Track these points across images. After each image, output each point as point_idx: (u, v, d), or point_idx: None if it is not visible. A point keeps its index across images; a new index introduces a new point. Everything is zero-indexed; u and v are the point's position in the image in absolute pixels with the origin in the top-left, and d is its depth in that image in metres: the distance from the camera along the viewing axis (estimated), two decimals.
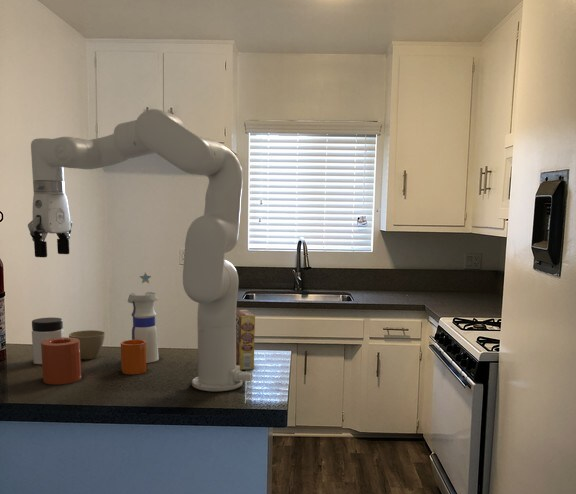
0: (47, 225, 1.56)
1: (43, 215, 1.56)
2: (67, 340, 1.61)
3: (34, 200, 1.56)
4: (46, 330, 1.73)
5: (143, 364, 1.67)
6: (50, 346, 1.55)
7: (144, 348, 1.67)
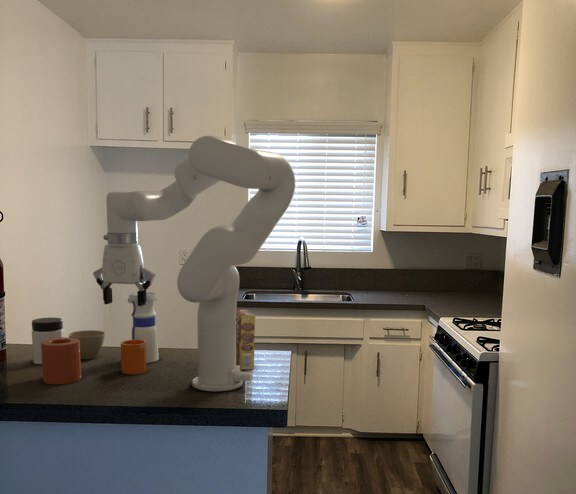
0: (102, 274, 1.64)
1: None
2: (67, 340, 1.61)
3: None
4: (46, 330, 1.73)
5: (143, 364, 1.67)
6: (50, 346, 1.55)
7: (144, 348, 1.67)
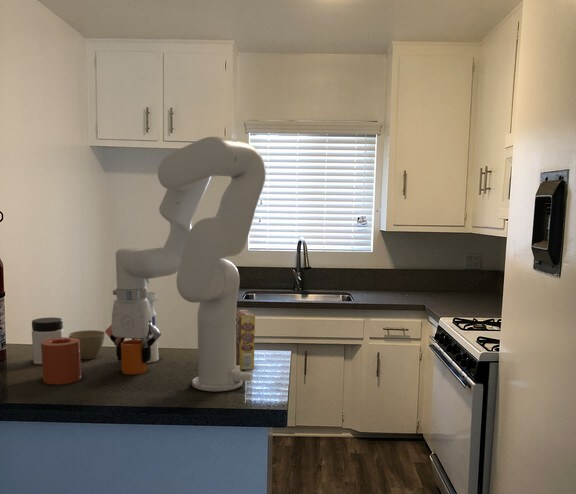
0: (111, 329, 1.66)
1: None
2: (67, 340, 1.61)
3: None
4: (46, 330, 1.73)
5: (143, 364, 1.67)
6: (50, 346, 1.55)
7: None
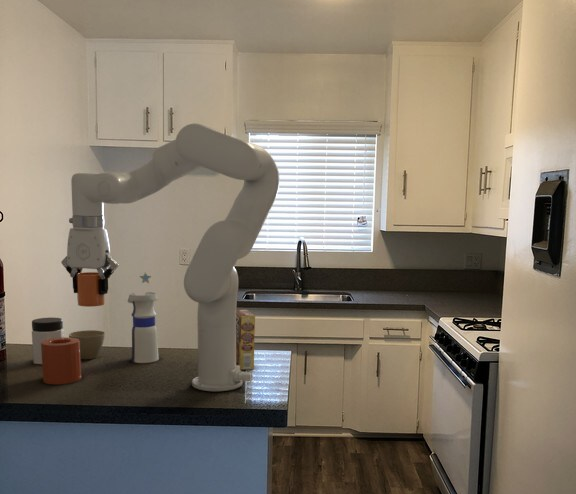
0: (67, 259, 1.59)
1: None
2: (67, 340, 1.61)
3: None
4: (46, 330, 1.73)
5: (100, 296, 1.60)
6: (50, 346, 1.55)
7: None
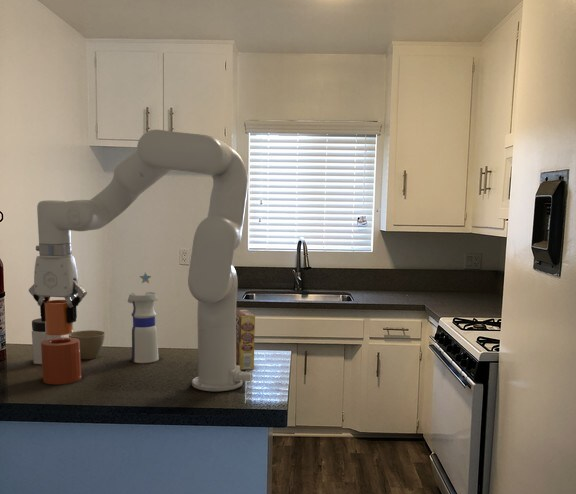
0: (34, 287, 1.56)
1: None
2: (67, 340, 1.61)
3: None
4: None
5: (68, 325, 1.57)
6: (50, 346, 1.55)
7: None
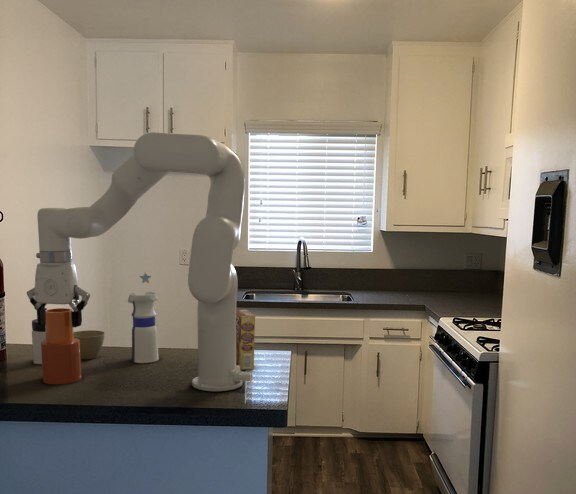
0: (35, 294, 1.56)
1: None
2: None
3: None
4: None
5: (69, 333, 1.57)
6: (50, 346, 1.55)
7: (70, 316, 1.57)
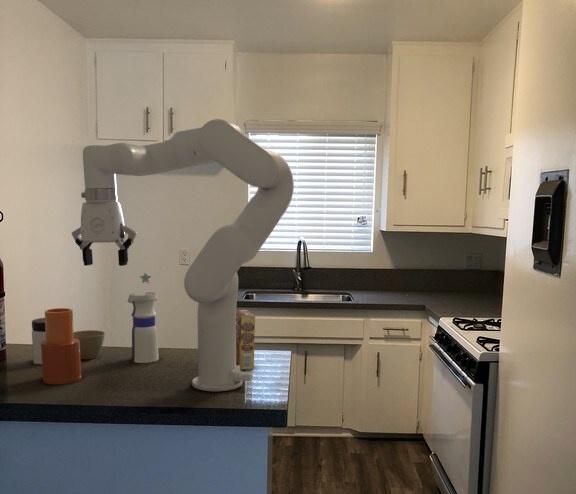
0: (81, 234, 1.56)
1: None
2: None
3: None
4: None
5: (69, 333, 1.57)
6: (50, 346, 1.55)
7: (70, 316, 1.57)
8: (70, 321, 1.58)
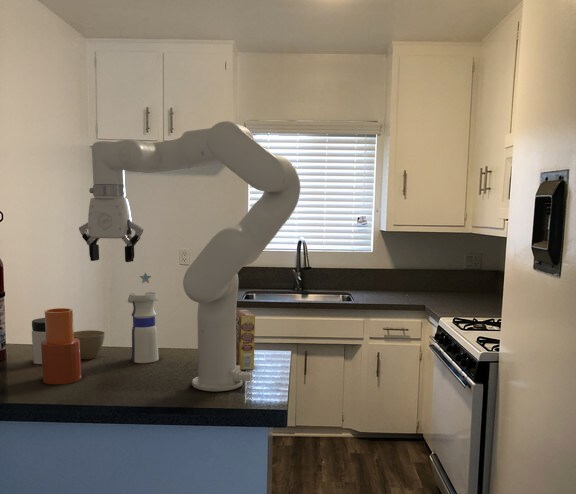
0: (88, 229, 1.56)
1: None
2: None
3: None
4: None
5: (69, 333, 1.57)
6: (50, 346, 1.55)
7: (70, 316, 1.57)
8: (70, 321, 1.58)
